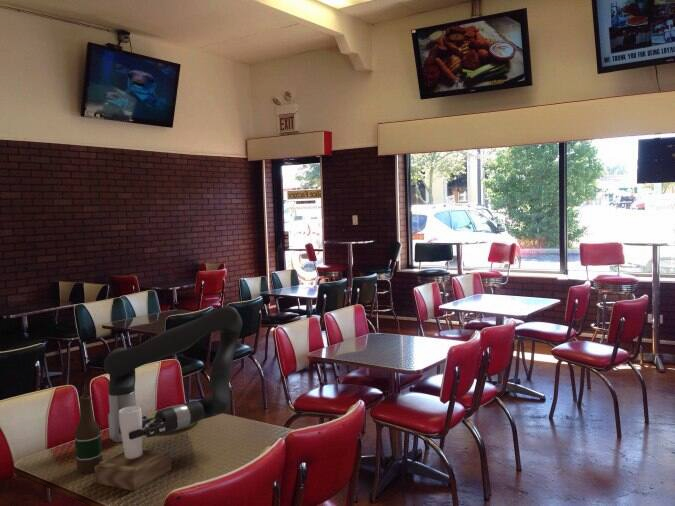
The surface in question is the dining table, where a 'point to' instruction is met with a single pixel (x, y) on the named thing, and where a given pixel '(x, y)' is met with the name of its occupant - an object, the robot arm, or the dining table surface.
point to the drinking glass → (130, 422)
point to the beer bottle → (87, 438)
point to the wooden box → (132, 469)
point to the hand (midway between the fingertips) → (124, 433)
